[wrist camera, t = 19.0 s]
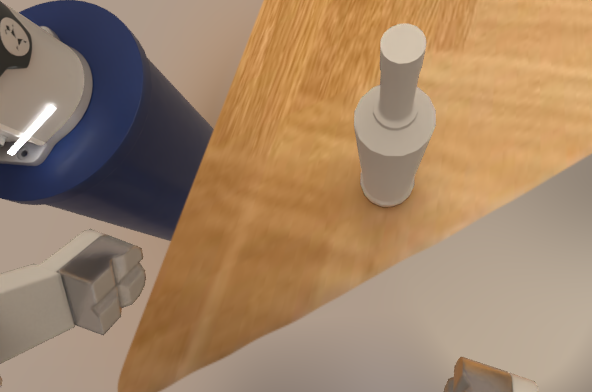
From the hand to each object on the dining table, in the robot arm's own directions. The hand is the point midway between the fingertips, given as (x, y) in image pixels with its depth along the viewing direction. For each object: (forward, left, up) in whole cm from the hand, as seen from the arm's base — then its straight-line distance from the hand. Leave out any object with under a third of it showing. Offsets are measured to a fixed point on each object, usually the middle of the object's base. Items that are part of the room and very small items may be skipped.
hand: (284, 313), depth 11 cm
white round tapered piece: (+5, +11, -33) cm, 35 cm away
